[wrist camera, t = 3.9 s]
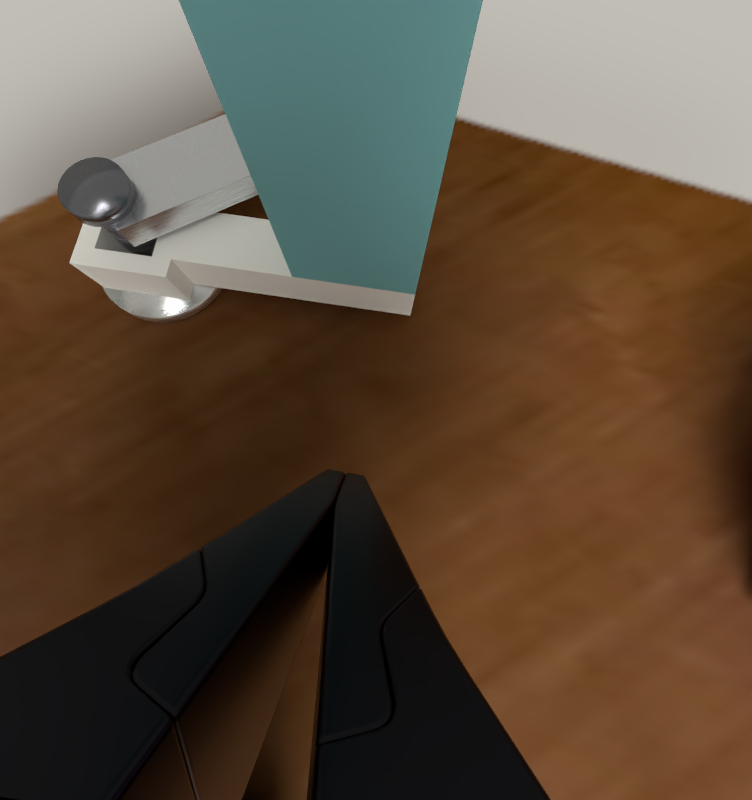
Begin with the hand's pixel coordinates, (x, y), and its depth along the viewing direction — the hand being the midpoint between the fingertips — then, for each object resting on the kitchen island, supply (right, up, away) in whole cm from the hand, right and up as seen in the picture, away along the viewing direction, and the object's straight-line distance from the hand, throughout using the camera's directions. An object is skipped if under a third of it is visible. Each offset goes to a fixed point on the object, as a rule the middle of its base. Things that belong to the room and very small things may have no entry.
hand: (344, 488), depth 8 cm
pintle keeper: (-8, +9, +10) cm, 16 cm away
